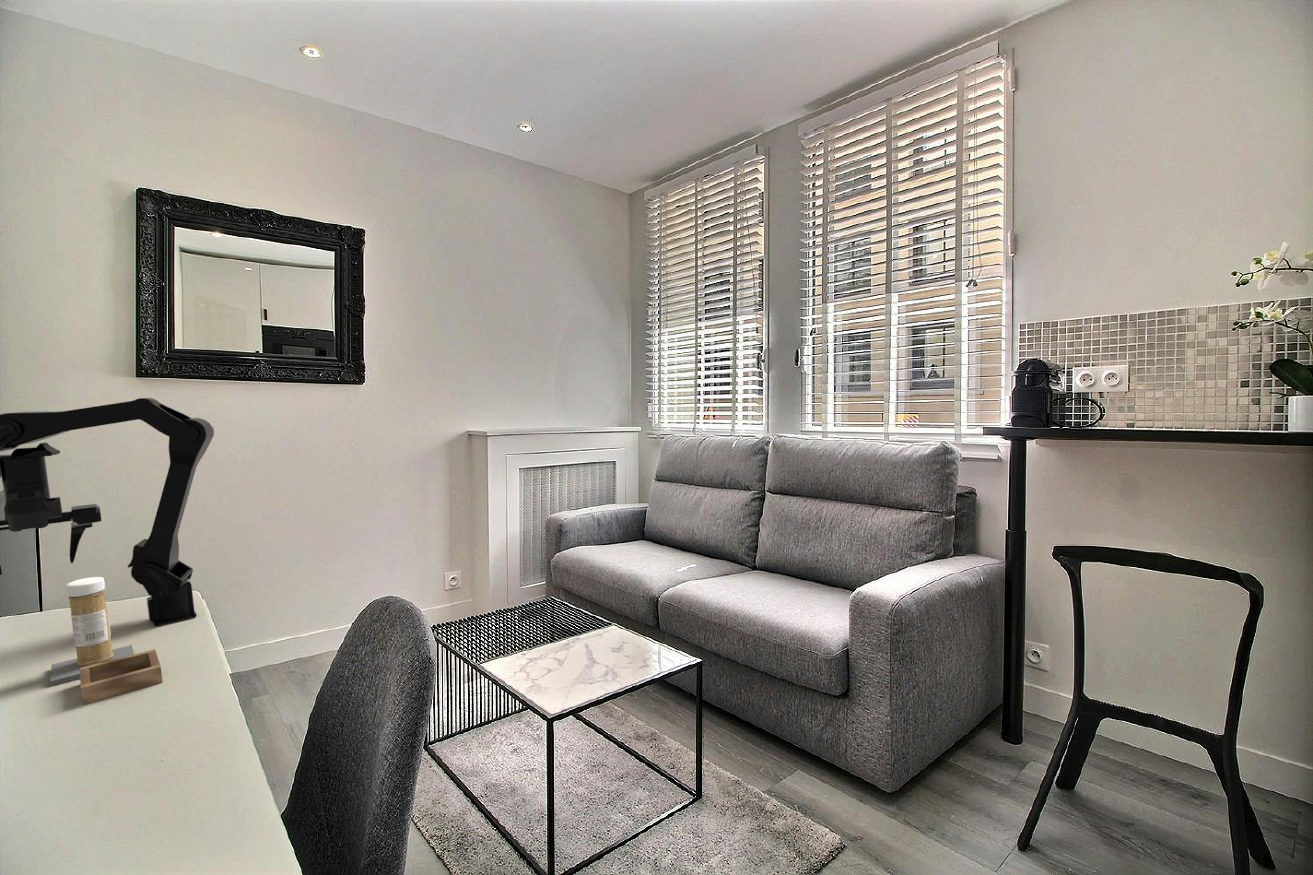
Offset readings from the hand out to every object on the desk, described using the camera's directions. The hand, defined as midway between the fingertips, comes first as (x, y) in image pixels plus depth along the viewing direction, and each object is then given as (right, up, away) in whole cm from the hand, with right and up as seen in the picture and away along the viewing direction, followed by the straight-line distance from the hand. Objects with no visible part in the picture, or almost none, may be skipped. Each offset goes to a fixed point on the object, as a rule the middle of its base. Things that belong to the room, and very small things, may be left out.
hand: (37, 568), depth 114 cm
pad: (+20, -14, -11) cm, 27 cm away
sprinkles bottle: (+20, -13, -11) cm, 27 cm away
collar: (+30, -14, -17) cm, 38 cm away
